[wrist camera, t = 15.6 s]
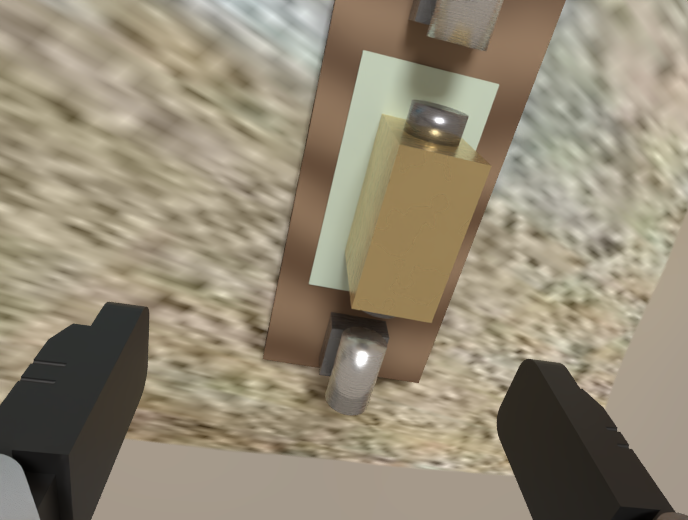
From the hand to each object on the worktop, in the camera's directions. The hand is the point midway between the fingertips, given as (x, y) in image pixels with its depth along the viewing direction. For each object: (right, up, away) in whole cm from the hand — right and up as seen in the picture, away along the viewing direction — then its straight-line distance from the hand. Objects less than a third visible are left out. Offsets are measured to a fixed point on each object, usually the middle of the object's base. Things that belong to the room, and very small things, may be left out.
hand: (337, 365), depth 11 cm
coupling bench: (+3, +7, +22) cm, 23 cm away
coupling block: (+3, +6, +21) cm, 22 cm away
